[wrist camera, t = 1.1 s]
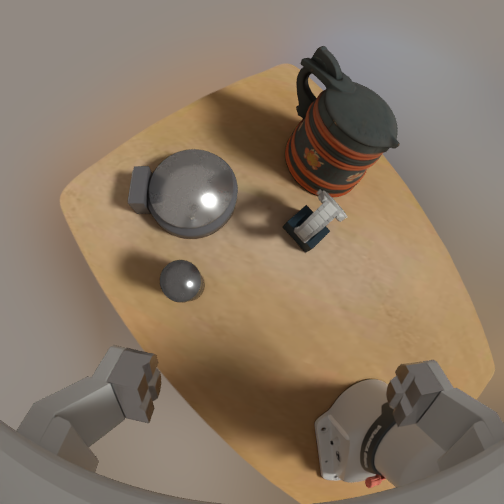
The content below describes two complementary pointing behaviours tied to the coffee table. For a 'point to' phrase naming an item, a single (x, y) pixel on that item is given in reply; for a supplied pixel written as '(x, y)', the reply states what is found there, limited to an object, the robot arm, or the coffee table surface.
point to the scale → (143, 206)
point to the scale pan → (191, 189)
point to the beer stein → (337, 129)
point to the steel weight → (181, 281)
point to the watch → (314, 222)
